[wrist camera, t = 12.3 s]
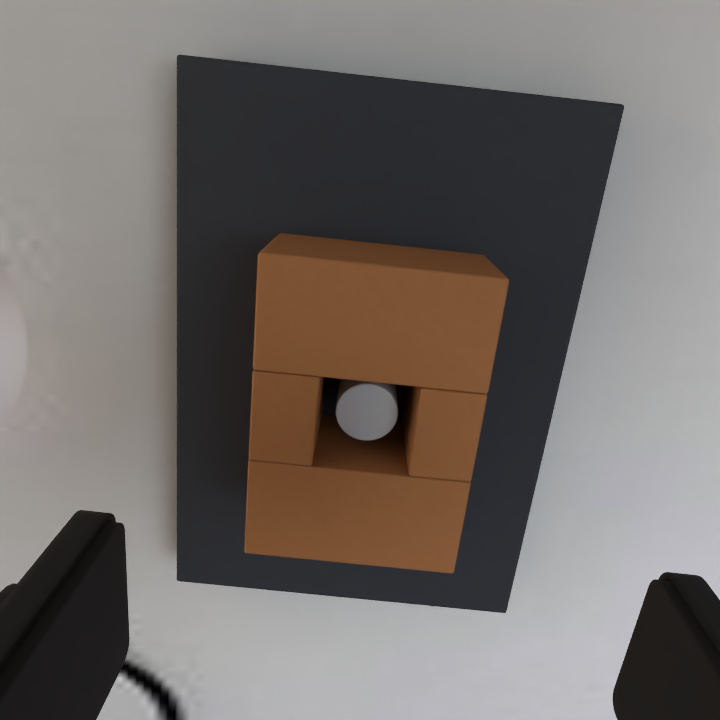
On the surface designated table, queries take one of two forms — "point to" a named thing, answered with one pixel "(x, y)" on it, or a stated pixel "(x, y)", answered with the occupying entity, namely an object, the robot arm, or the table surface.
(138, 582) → the table surface
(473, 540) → the charcoal back pad
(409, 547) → the brown block with hole
